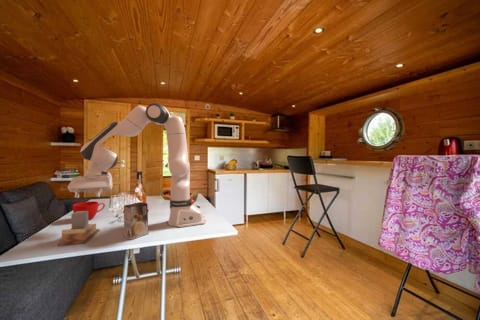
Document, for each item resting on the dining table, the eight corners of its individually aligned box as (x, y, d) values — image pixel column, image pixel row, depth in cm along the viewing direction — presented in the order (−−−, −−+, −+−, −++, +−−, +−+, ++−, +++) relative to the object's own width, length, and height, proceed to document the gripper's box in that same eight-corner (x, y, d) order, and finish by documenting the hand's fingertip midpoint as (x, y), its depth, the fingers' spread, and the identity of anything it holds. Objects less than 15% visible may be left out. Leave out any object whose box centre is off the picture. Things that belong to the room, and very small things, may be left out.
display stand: (99, 231, 112) (99, 219, 112) (85, 243, 96) (85, 229, 96) (75, 233, 109) (75, 220, 109) (57, 246, 94) (57, 231, 93)
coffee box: (141, 231, 111) (140, 201, 111) (148, 234, 108) (148, 203, 107) (123, 237, 103) (123, 205, 103) (131, 240, 100) (130, 207, 99)
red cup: (108, 217, 136) (108, 202, 135) (76, 224, 123) (75, 207, 122) (101, 213, 144) (101, 199, 144) (70, 219, 131) (70, 204, 131)
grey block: (88, 226, 106) (88, 210, 105) (83, 229, 101) (83, 213, 101) (77, 227, 104) (76, 211, 104) (71, 230, 99) (71, 214, 99)
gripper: (70, 173, 114) (61, 194, 105) (112, 172, 119) (107, 192, 110) (75, 180, 118) (66, 201, 109) (115, 179, 124) (110, 199, 115)
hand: (87, 197), depth 110 cm, fingers open, 8 cm apart
